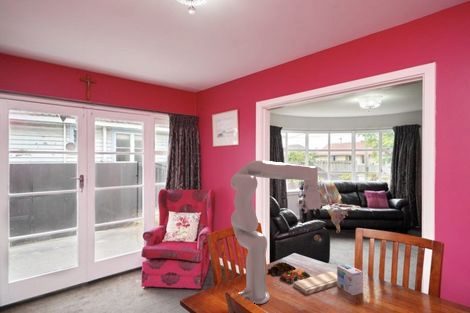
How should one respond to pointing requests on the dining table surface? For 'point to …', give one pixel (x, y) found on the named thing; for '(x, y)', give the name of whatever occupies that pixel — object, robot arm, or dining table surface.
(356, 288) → the light bulb box
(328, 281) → the plank
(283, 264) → the food
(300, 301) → the dining table surface
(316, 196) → the robot arm
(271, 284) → the dining table surface
